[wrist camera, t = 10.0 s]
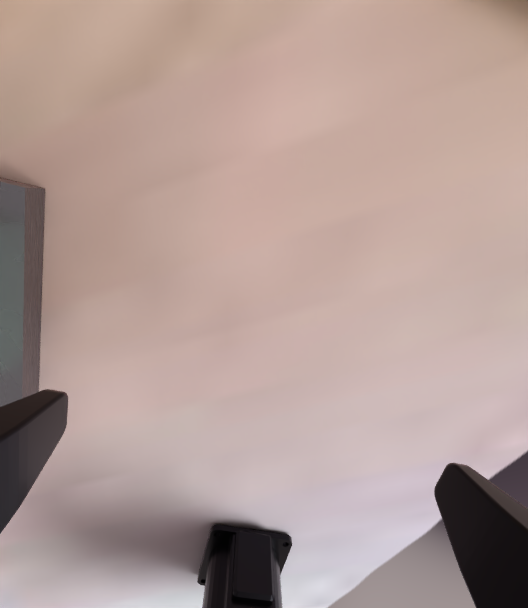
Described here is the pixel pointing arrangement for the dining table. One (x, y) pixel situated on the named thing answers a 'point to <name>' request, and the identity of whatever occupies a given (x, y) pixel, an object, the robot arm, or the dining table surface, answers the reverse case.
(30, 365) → the base plate
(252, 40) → the dining table surface
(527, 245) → the dining table surface
